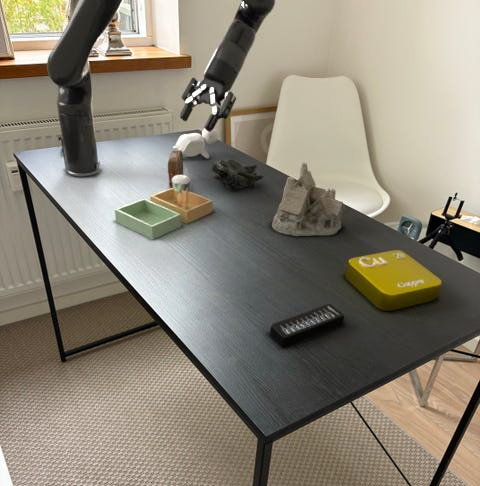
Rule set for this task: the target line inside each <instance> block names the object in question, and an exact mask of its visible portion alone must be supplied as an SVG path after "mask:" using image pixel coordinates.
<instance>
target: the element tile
mask: <svg viewBox="0 0 480 486" xmlns="http://www.w3.org/2000/svg"><path fill="white" fill-rule="evenodd" d="M347 261H348V262H347V267H346V271H345V275H344V277H345V279H346V281H348V282H349V283H350V285H353V286H352V287H354V288H355V289H356V290H357V291H359V293H361V294H362V295H363V296H364V297H365V298H366V299H367V300H368V301H369V302H370V303H371V304H372V305H374V307H376V308H377V309H379V310H380V311H383V312H390V311H395V310H400V309H404V308H409V307H413V306H416V305H420V304H425V303H429V302H432V301H435V300H436V299H437V298H438V295H439V291H440V289H441V286H442V283H443V282H442V280H441V278H439V276H437V275H435V274H434V273H433V272H431V271H430V270H429V269H428V268H426V267H425V266H424V265H422V264H421V263H419V262H418V261H417V260H415V259H414V258H413V257H411V256H410V255H409V254H407V253H406V252H405V251H403V250H400V249H394V250H393V249H392V250H388V251H383V252H377V253H372V254H367V255H360V256H355V257H351V258H350V259H349V260H347Z"/></svg>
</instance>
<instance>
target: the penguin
mask: <svg viewBox="0 0 480 486" xmlns="http://www.w3.org/2000/svg"><path fill="white" fill-rule="evenodd" d="M218 139H219V134H218V131H217V129H216V128H214V129H213V130H211V132H209V131H207V130H206V129H205V128H204V129H203V130H202V132H201V134H200V133H198V132H192V133H187V134H182V135H180V136H179V137H178V139H177V142H176V143H175V145H174V146H172V148H173V151H174V150H181V151H182V156H183V158H186V157H187V158H188V157H195V156H198V155H199V154H200V155H201V156H203V157H204V158H205V159H207V160H209V159H210V155H209V153H208V151H206V145H212V144H214V143H216V142H217V141H218Z"/></svg>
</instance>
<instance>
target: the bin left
mask: <svg viewBox="0 0 480 486" xmlns="http://www.w3.org/2000/svg"><path fill="white" fill-rule="evenodd" d="M114 216H115V222H116V223H117V224H119V225H122V226H124V227H126V228H128V229H130V230H133V231H134V232H136V233H138V234H140V235H143V236H144V237H147V238H149V239H151V240H155V239H157V238H159V237H161V236H164V235H166V234H168V233H170V232H173V231H175V230H177V229H178V228H181V227H182V221H181V214H179V213H177V212H174V211H172V210H170V209H167V208H165V207H163V206H161V205H158V204H156V203H154V202H151V201H150V200H149V199H146V198H141V199H139V200H136V201H134V202H133V201H132V202H131V203H129V204H125V205H123V206H120V207H118V208H115V209H114Z"/></svg>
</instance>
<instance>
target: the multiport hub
mask: <svg viewBox="0 0 480 486" xmlns="http://www.w3.org/2000/svg"><path fill="white" fill-rule="evenodd" d="M344 317H345V314H344V313H343V312H342V311H341V310H340V309H338V308H337V307H335V305H334V304H332V303H327V304H325V305H321V306H319V307H316V308H313V309H310V310H307V311H305V312H302V313H298V314H297V315H294V316H291V317H288V318H285V319H283V320H279V321H276V322H274V323H271V325H270V331H269V336H270V337H271V338H272V339H273V340H274V341H276V343H278V344H279V346H280V347H281V348H287V347H288V346H289V347H290V346H293V345H294V344H297V343H299V342H302V341H305V340H308V339H310V338H312V337H315V336H317V335H320V334H322V333H326V332H328V331H330V330H333V329H335V328H338V327H341V326H342V325H343V324H344V319H345V318H344Z"/></svg>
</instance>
